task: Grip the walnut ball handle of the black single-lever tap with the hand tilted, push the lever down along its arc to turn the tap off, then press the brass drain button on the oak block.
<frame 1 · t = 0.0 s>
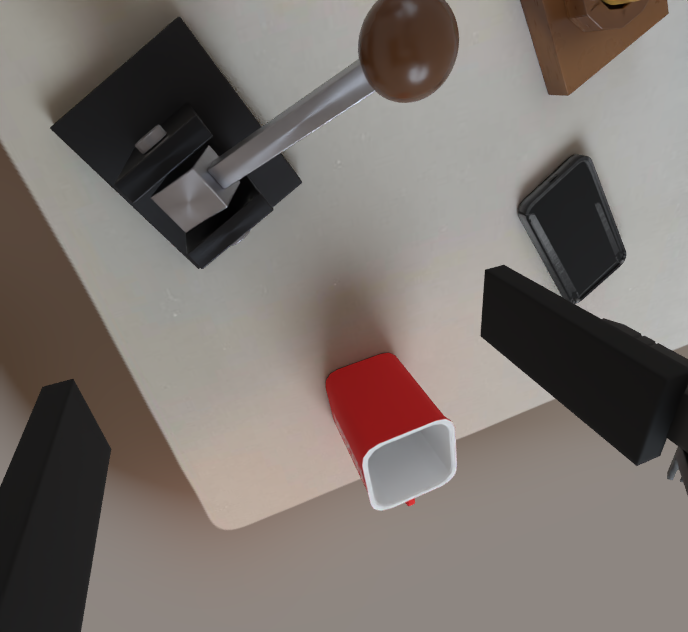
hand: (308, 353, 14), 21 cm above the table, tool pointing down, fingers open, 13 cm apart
tap bracket: (189, 155, 29), on the table
mug: (366, 402, 46), on the table
tap lever: (292, 125, 18), point 14 cm above the table, hinge at 28.0°
phone: (570, 233, 44), on the table
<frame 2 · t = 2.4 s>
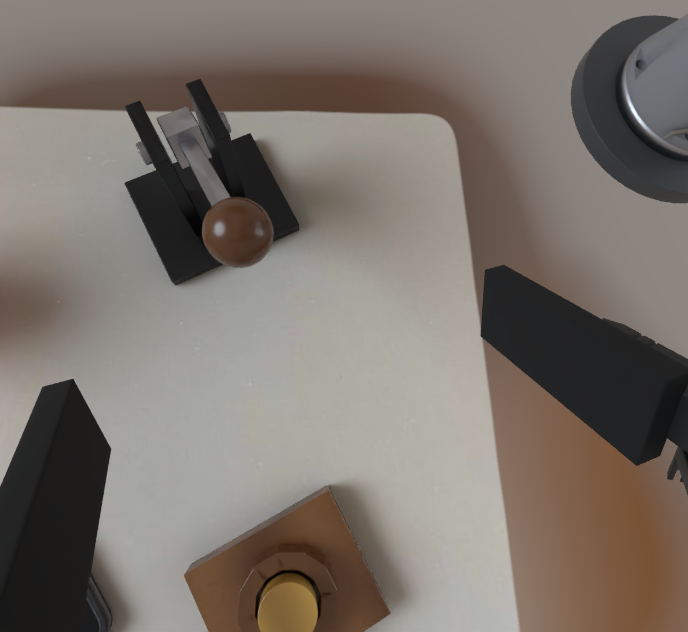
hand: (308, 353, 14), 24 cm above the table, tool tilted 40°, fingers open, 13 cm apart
drain button: (288, 609, 30), point 4 cm above the table, slide at 0.1 cm
tap bracket: (215, 209, 39), on the table
drain block: (289, 582, 34), on the table
tap lever: (209, 181, 25), point 14 cm above the table, hinge at 28.0°
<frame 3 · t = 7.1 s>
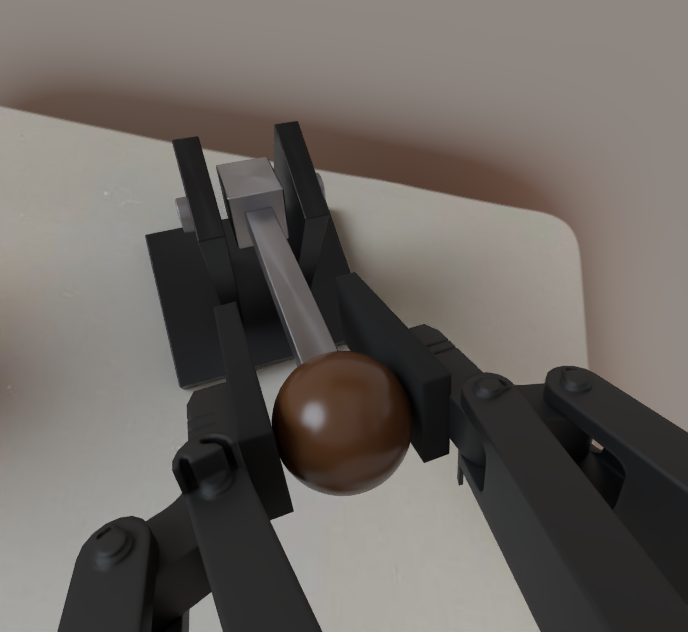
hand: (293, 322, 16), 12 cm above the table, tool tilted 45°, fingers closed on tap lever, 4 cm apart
tap bracket: (259, 290, 29), on the table
tap lever: (288, 288, 15), point 14 cm above the table, hinge at 28.0°, touching gripper
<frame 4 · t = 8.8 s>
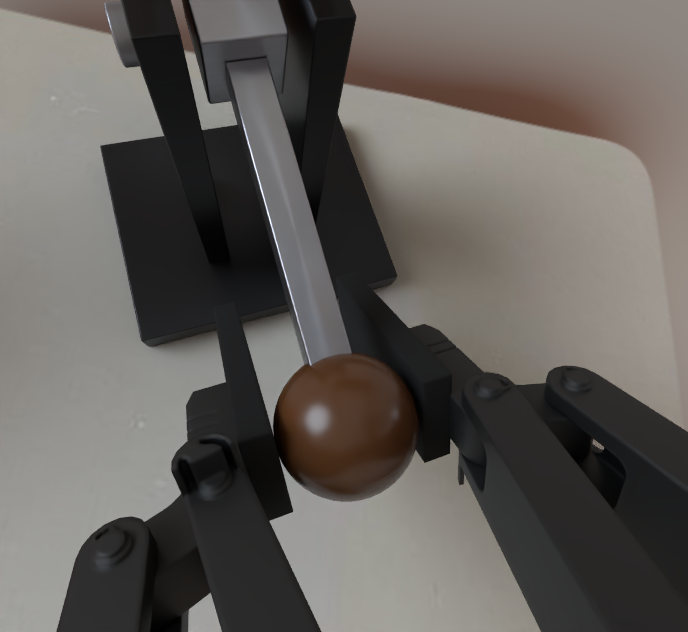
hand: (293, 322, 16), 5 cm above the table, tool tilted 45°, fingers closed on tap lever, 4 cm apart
tap bracket: (251, 223, 22), on the table
tap lever: (289, 224, 11), point 10 cm above the table, hinge at -9.2°, touching gripper
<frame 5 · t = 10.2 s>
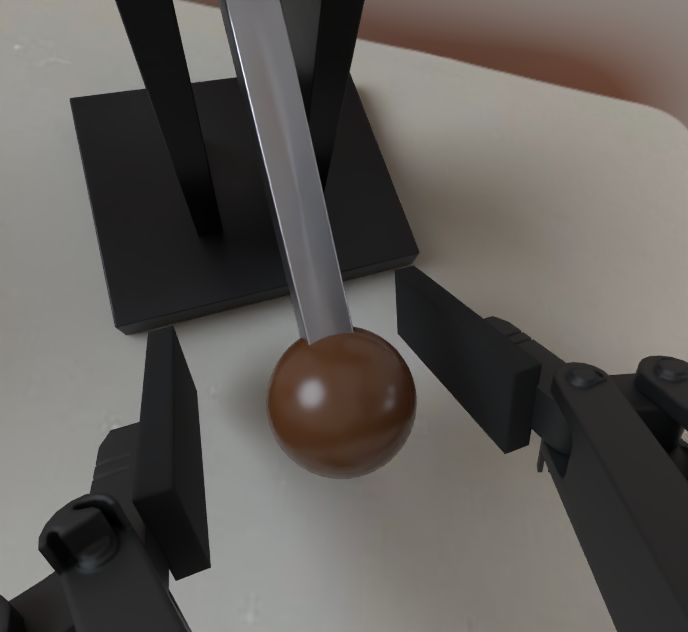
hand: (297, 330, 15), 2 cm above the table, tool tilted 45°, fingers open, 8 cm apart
tap bracket: (248, 192, 19), on the table
tap lever: (289, 177, 10), point 9 cm above the table, hinge at -24.2°
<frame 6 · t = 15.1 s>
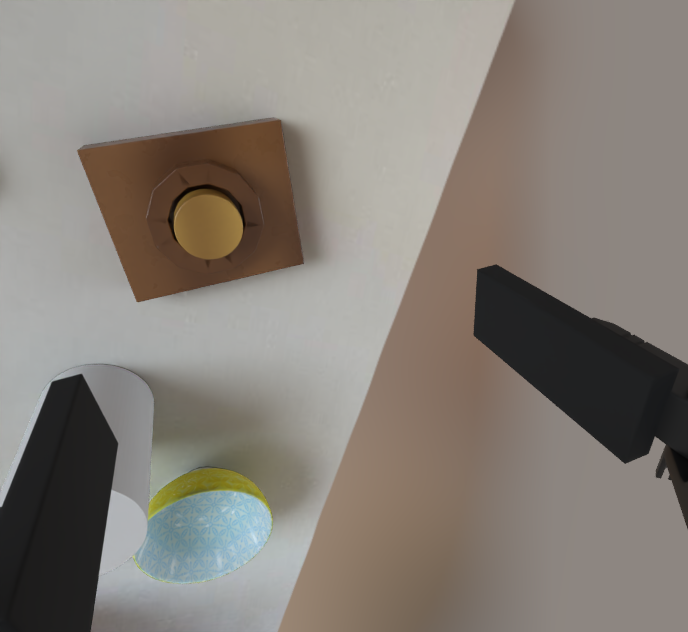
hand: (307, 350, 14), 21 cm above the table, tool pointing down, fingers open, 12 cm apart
drain button: (208, 224, 27), point 4 cm above the table, slide at 0.1 cm
bowl: (202, 482, 42), on the table
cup: (99, 405, 35), on the table
drain block: (204, 206, 30), on the table
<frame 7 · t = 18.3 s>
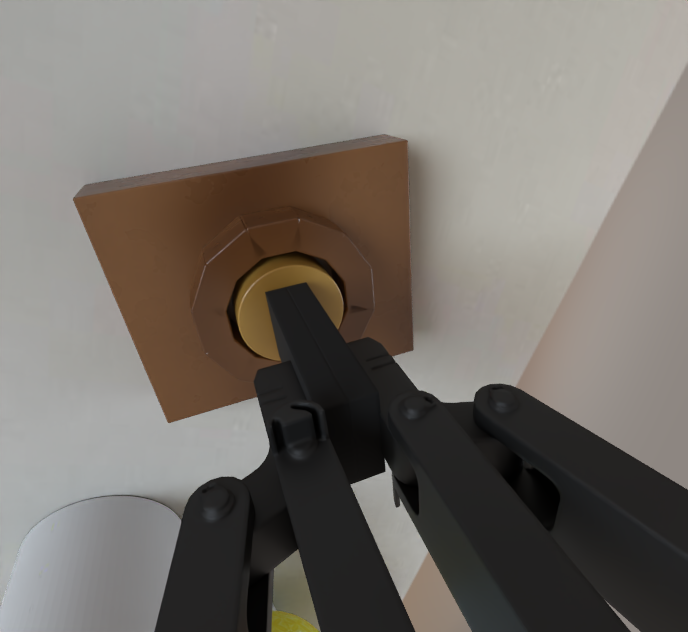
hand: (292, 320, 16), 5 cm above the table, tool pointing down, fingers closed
drain button: (287, 305, 17), point 4 cm above the table, slide at -0.8 cm, touching gripper
bowl: (243, 616, 31), on the table
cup: (107, 546, 24), on the table
drain block: (270, 271, 20), on the table
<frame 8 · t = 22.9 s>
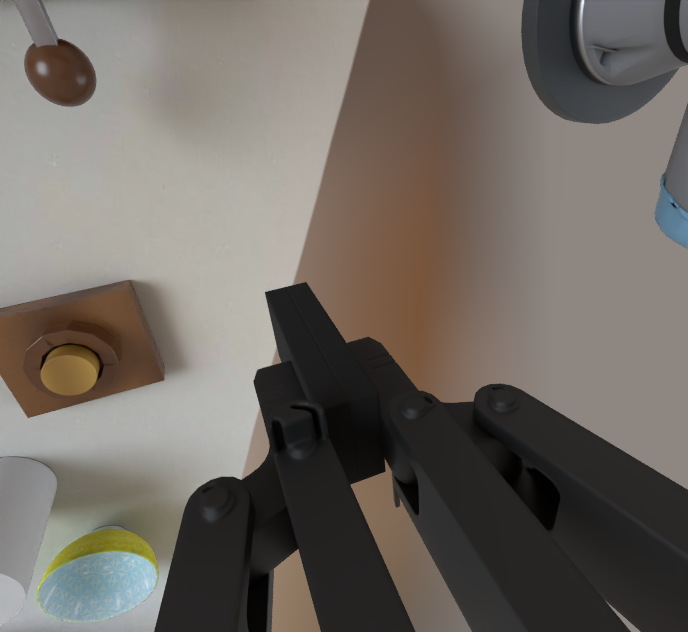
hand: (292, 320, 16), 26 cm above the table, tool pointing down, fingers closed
drain button: (71, 370, 36), point 4 cm above the table, slide at 0.1 cm
bowl: (107, 536, 52), on the table
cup: (11, 485, 44), on the table
drain block: (80, 343, 40), on the table
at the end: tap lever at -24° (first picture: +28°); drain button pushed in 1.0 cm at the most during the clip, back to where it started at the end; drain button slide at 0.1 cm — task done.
